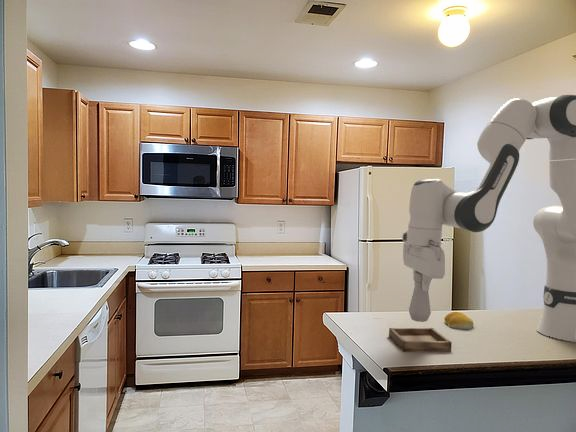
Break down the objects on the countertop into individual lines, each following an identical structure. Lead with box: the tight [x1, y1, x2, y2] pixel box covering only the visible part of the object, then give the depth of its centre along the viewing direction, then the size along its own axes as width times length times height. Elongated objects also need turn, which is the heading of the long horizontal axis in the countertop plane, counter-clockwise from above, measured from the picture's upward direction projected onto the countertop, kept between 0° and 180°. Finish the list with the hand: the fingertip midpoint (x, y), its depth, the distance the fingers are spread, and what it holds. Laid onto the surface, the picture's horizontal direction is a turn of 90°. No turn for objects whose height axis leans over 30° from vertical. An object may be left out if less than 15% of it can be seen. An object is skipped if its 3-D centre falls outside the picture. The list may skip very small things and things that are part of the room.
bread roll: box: [443, 311, 474, 330], centre depth 144 cm, size 8×9×4 cm
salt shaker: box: [408, 272, 432, 323], centre depth 125 cm, size 6×6×13 cm
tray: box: [388, 327, 453, 352], centre depth 126 cm, size 13×12×2 cm
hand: (421, 288), depth 125 cm, fingers closed on salt shaker, 3 cm apart
